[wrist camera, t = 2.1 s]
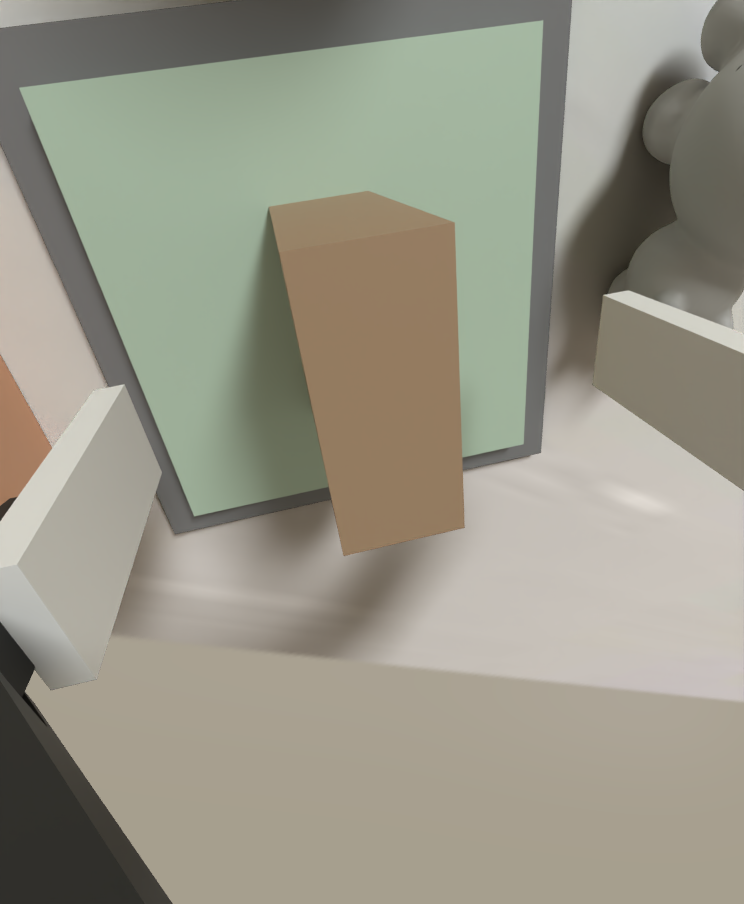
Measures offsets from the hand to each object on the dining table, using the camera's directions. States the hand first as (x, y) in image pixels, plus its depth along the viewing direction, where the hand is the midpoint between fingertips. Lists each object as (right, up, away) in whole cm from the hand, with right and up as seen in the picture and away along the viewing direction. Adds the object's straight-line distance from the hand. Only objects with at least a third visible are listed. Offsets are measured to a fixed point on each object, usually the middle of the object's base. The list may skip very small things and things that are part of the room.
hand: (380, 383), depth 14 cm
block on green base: (-2, +4, +6) cm, 8 cm away
